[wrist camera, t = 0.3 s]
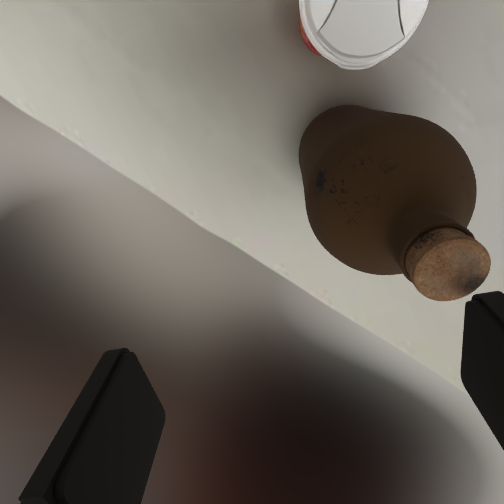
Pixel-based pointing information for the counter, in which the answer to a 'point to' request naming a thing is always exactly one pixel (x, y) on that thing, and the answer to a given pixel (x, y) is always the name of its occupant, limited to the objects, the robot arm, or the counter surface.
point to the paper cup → (358, 28)
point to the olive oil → (393, 199)
